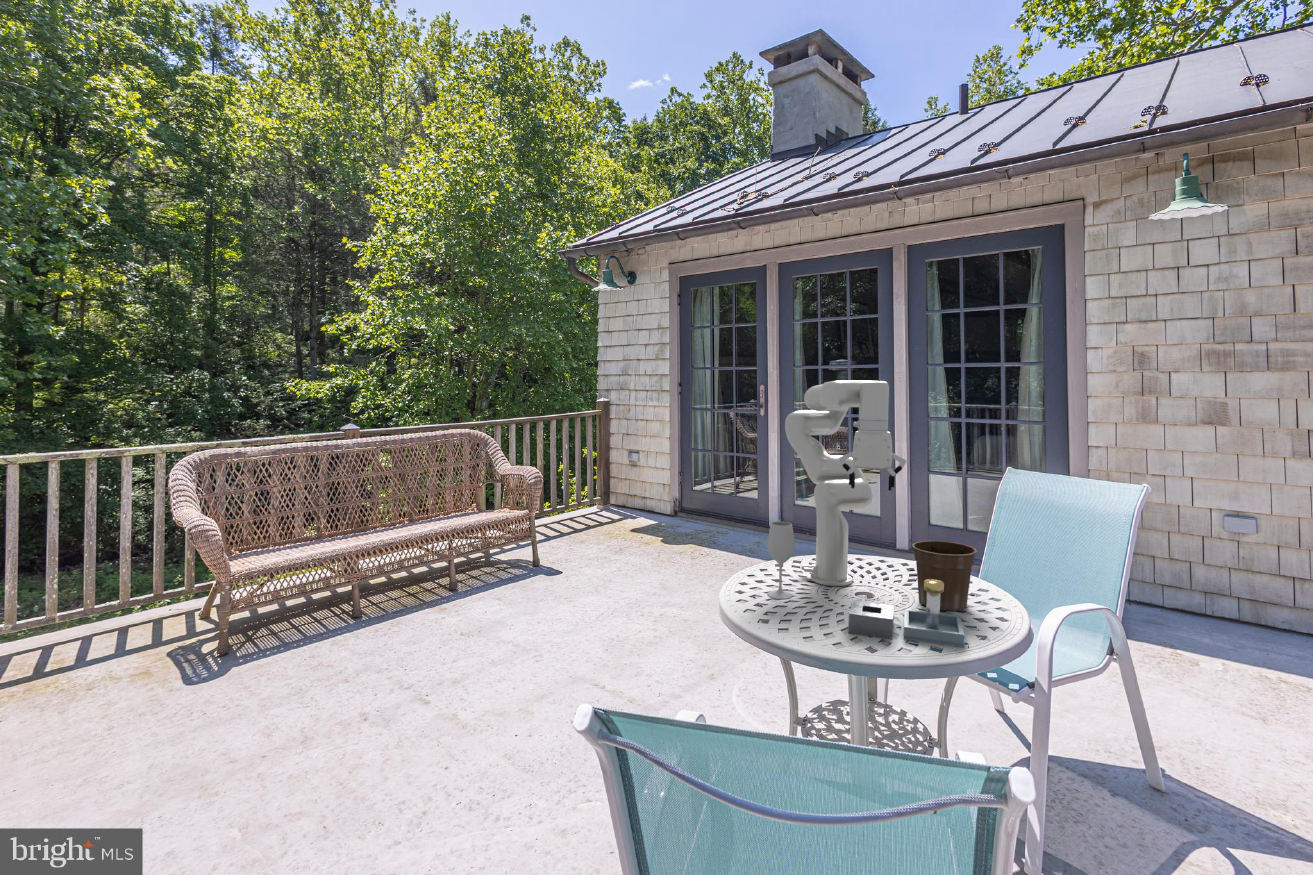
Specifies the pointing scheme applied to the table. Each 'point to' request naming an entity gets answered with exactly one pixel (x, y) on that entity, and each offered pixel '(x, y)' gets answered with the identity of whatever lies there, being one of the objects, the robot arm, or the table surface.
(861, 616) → the block
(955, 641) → the tray
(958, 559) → the plant pot
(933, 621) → the pin
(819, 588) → the table surface
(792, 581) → the table surface
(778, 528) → the wineglass
